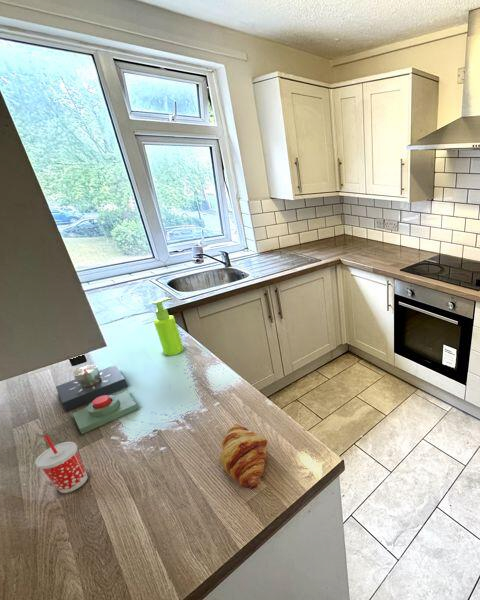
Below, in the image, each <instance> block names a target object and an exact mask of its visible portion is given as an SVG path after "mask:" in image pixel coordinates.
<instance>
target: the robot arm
mask: <svg viewBox="0 0 480 600" xmlns="http://www.w3.org/2000/svg"><path fill="white" fill-rule="evenodd" d="M68 361H69V364H70V366H71V367H75V366H76V367H77V366H79V365H81V364H85V363H87V362H88V360H87V357H86V355H85V354H84V355H82V356H78V357H76V358H73V359H69V358H68Z"/></svg>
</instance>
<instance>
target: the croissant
mask: <svg viewBox="0 0 480 600" xmlns="http://www.w3.org/2000/svg"><path fill="white" fill-rule="evenodd" d="M226 434H227V435H226V436H225V437H224V438H223V440H222V442H221V448H222V450H221V452H220V455H219V458H218V460H219V464H220V466H221V467H222V469H223V470H224V471H225V472H226V473H227V475H228V476H230V477H231V478H232V479H233V480H234V481H235V482H237V483H238V484H239V485H240V486H241V488H245V489H249V490H255V488H256V489H257V487H258V486H259V485H260V481H261V477H262V476H263V474H264V472H265V464H266V461H267V445H268V440H267V438H266V437H264V436H262V435H258V434H257V433H255V432H254V431H251V430H249V429H248V428H246V427H245V426H242V425H241V424H239V423H235V424H234V425H232V427H231V428H230V429H229V428H228V430H227V432H226Z"/></svg>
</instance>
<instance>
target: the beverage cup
mask: <svg viewBox="0 0 480 600" xmlns="http://www.w3.org/2000/svg"><path fill="white" fill-rule="evenodd" d="M43 437H44V439H45V440H46V442H47V444H48V446H49V448H47V449H46V450H44V451H43V452H42V453H41V454H39V455H38V456H37V458H36V459H35V465H36V466H37V468H38V469H40V470H42V472H43V473H44V474H45V475H46V477H47V478H48V479H49V480H50V482H51V483H52V484H53V485H54V487H55V488H56V489H57V490H58V492H60V493H62V494H68V493H71V492H73V491H75V490H77V489H79V488H80V487H82V486H83V485H84V484H85V483H86V482H87V480H88V474H87V471H86V469H85V466H84V464H83V462H82V460H81V457H80V454H79V452H78V445H77V443H75V442H73V441H64V442H61V443H57V444H55V445H54V443H53V441H52V440H51V438H50V437H49V435H48V434H44V435H43Z"/></svg>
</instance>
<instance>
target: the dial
mask: <svg viewBox="0 0 480 600" xmlns="http://www.w3.org/2000/svg"><path fill="white" fill-rule="evenodd" d="M99 371H100V370H99V368H98V366H97V365H96V364H88V365H84V366H81V367H79V368H77V369H75V370H74V371H73V372H72V376H74V377H73V378H74V380H75V379H76V381H77V383H78V385H79V387H81V388H86V387H90V386H93V385H96V384H97V383H99V382H100V381H101V380H102V377H101V375H100V373H99Z"/></svg>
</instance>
